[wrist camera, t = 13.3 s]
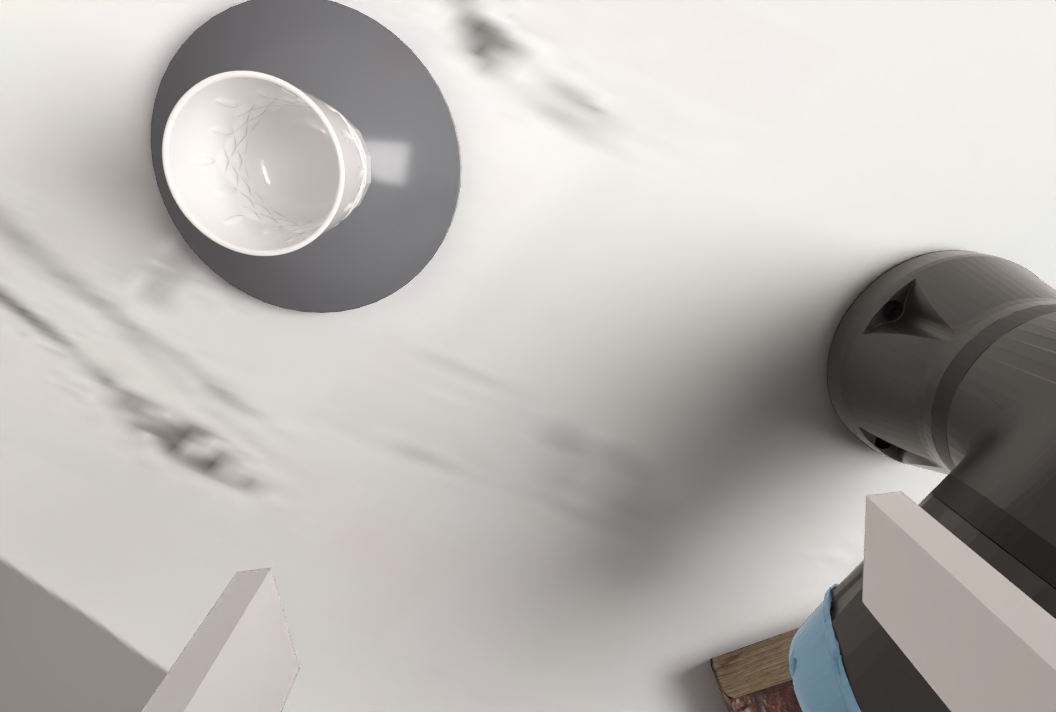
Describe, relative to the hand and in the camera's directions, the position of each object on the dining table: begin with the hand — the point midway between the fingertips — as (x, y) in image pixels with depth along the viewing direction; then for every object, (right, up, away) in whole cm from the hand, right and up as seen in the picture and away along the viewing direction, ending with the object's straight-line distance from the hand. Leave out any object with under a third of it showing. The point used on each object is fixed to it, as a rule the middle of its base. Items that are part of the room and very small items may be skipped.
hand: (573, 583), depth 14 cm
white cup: (-14, +16, +24) cm, 32 cm away
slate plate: (-14, +17, +25) cm, 33 cm away
